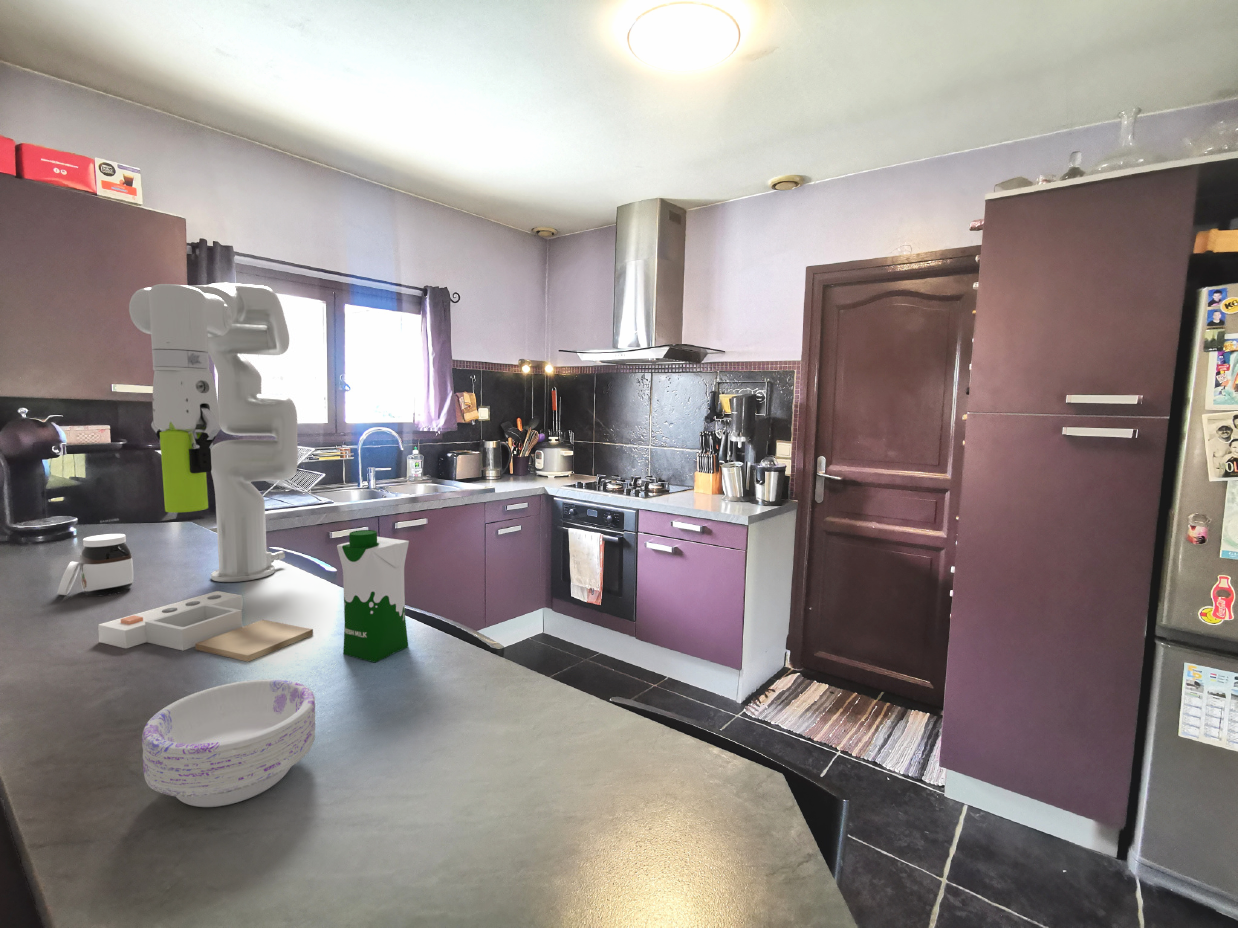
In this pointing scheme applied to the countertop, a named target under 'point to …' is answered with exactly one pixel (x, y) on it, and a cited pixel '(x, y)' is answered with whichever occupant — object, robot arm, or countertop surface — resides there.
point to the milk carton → (373, 595)
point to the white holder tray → (177, 622)
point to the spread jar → (101, 566)
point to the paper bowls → (228, 741)
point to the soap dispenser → (181, 474)
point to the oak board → (254, 640)
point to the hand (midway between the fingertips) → (187, 470)
